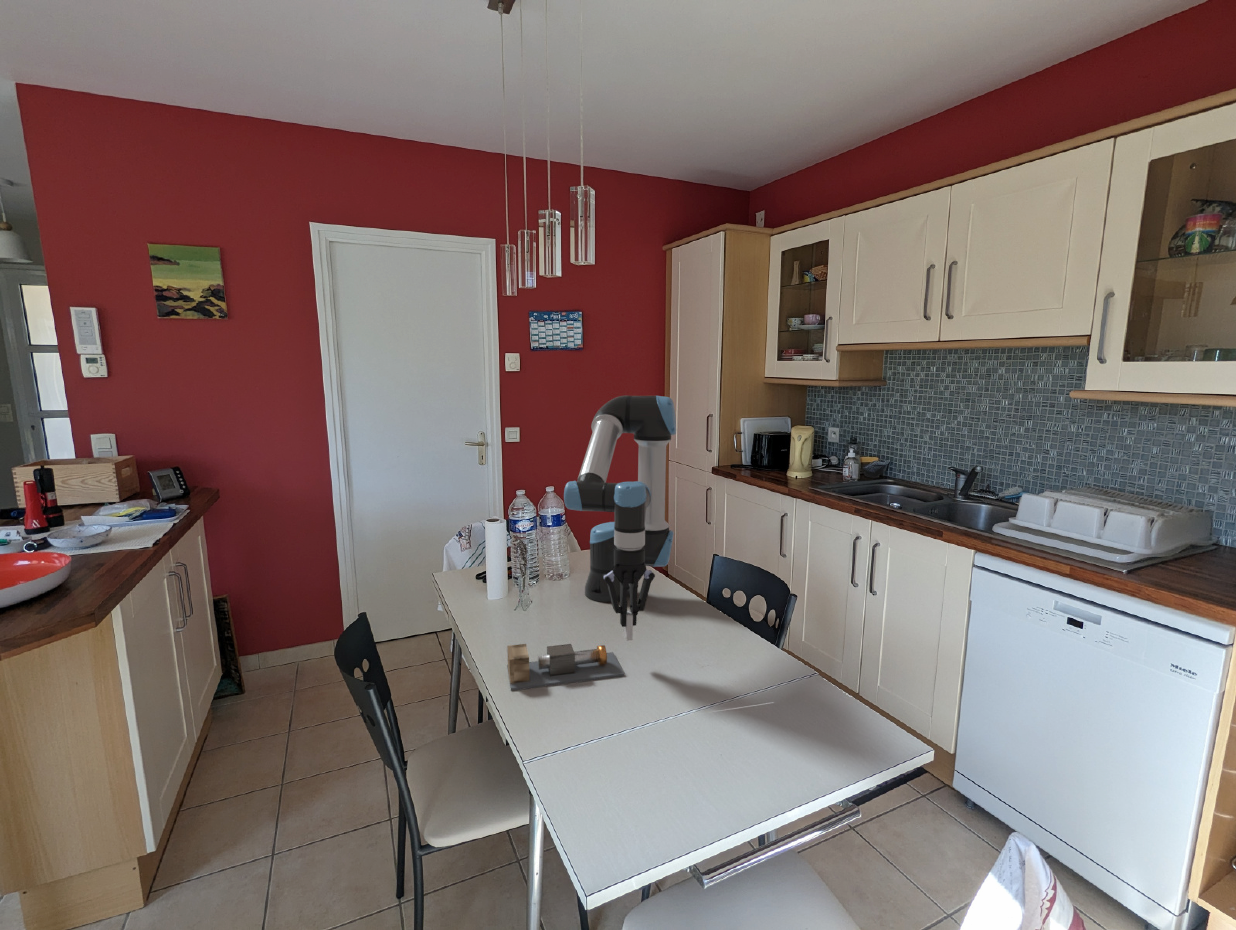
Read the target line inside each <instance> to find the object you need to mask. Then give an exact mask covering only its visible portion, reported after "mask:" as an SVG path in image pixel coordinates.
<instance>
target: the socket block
mask: <svg viewBox="0 0 1236 930" xmlns="http://www.w3.org/2000/svg"><path fill="white" fill-rule="evenodd" d="M506 648H507V650H506V651H507V665H508V668H507V673H509V675H508V680H510V681H509V685H510V684H511V683H519V682H527V681H530V679H529V662H530V656H529V651H528V646H527V643H520V644H513V645H510V644H509V645H507V647H506Z"/></svg>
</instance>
